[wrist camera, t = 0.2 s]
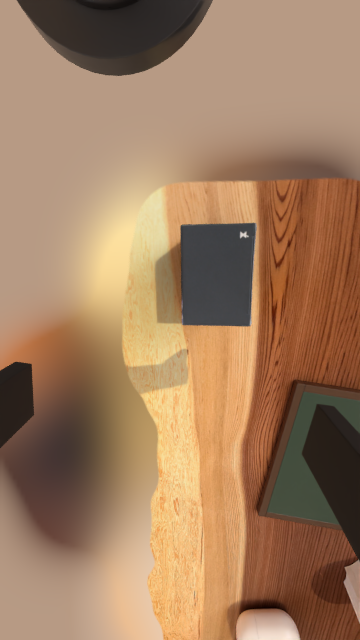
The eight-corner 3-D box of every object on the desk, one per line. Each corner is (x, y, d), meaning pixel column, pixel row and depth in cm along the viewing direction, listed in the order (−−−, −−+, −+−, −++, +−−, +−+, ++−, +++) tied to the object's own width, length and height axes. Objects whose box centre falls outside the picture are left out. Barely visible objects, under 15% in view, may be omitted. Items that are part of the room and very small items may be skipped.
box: (186, 235, 28) (179, 222, 17) (236, 235, 27) (260, 220, 17) (186, 303, 29) (180, 327, 19) (233, 303, 29) (252, 328, 19)
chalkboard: (294, 379, 31) (298, 383, 30) (437, 402, 30) (446, 407, 29) (256, 509, 36) (258, 516, 35) (376, 530, 36) (382, 538, 35)
